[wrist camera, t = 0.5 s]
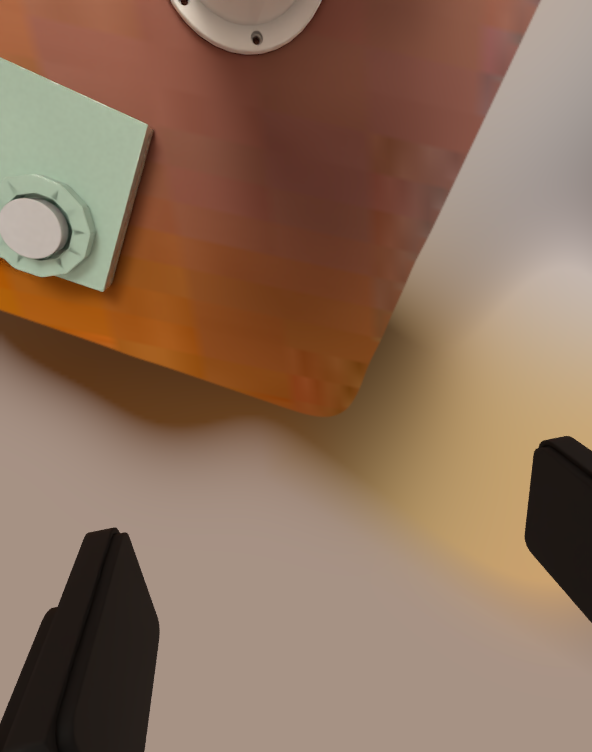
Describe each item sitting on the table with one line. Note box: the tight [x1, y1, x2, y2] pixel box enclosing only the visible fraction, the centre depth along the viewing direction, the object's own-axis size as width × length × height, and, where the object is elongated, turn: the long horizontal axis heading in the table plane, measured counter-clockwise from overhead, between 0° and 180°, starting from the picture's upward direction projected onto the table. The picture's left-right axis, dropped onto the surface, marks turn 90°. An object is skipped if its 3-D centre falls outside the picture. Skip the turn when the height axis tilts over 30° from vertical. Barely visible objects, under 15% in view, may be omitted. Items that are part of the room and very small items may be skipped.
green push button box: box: [0, 57, 154, 292], centre depth 33 cm, size 13×10×5 cm
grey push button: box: [0, 198, 69, 259], centre depth 32 cm, size 4×4×2 cm
